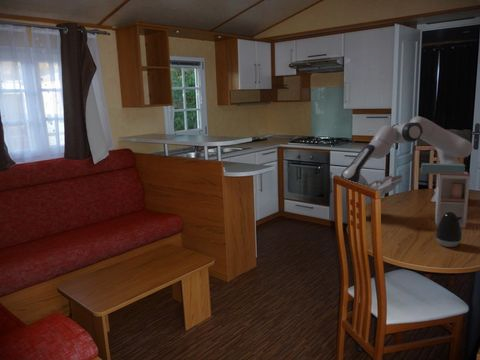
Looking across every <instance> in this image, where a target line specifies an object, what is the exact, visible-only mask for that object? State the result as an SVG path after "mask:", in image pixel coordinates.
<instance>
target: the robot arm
mask: <svg viewBox="0 0 480 360" xmlns="http://www.w3.org/2000/svg"><path fill="white" fill-rule="evenodd" d="M418 140H422V141H423V142H426V143H427V144H429V145H431V146H432V147H434V150H435V151H436V152H437V155H438V159H439V164H461V163H460V161H459V159H458V158H467V157H470V156H469V155H471V154H472V152H473V148H474V147H473V144H472V142H471V141H469V140H467V139H466V138H463V137H461V136H459V135H457V134H456V133H453V132H452V131H449V130H447V129H445V128H443V127H441V126H440V125H438V124H436V123H435V122H433V121H431V119H430V120H429V119H428V118H426V117H423V116H419V115H418V116H417V115H415V116H414V117H412V118H411V119H410V120H409V122H405V123H404V122H403V123H399V124H395V125H389V124H386V125H382V126H381V128H379V130H378V131H377V132H376V133H375V134H374V136H373V138H372V139H371V141H370V142H369V143H368V144H367V145H365V146H364V147H363V148H362V149H360V151H359V152H358V154H357V155H356V157H355V158H354V159H353V160H352V162H351V163H350V164H348V166H347V167H346V168H344V169H343V171H341V174H340V178H341V177H342V178H345V179H348V180H351V181H354V182H357V183H360V184H363V185H366V186H368V187H372V188H375V189H378V190H380V191H381V197H380V198H382V197H384V195H385V194H387V193H390V192H392V191H394V190H395V188H396V186H398V185H399V184H401V183H403V179H402V178H403V175H402V174H399V175H394V176H392V175H388V176H385V177H383V178H381V179H379V180H378V179H376V180H374V181H373V182H371V183H368V181H367V179H366V178H365V177H364V176H363V174H361V173H362V172H361V171H362V169H363V167H365V165H366V164H367V162H368V161H369V160H370V159H377V160H378V159H383V158H385V157H386V156H387V155H388V154H389V152H390V151H391V149H392V147H393V145H394V144H408V143H414V142H416V141H418ZM433 193H434V194H433V196H432V198H431V201H430V202H433V203H436V194H437V187H435V188H434V189H433ZM370 202H372V201H371V199H370V198H369V197H366V204H365V205H367V204H369V203H370Z"/></svg>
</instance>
